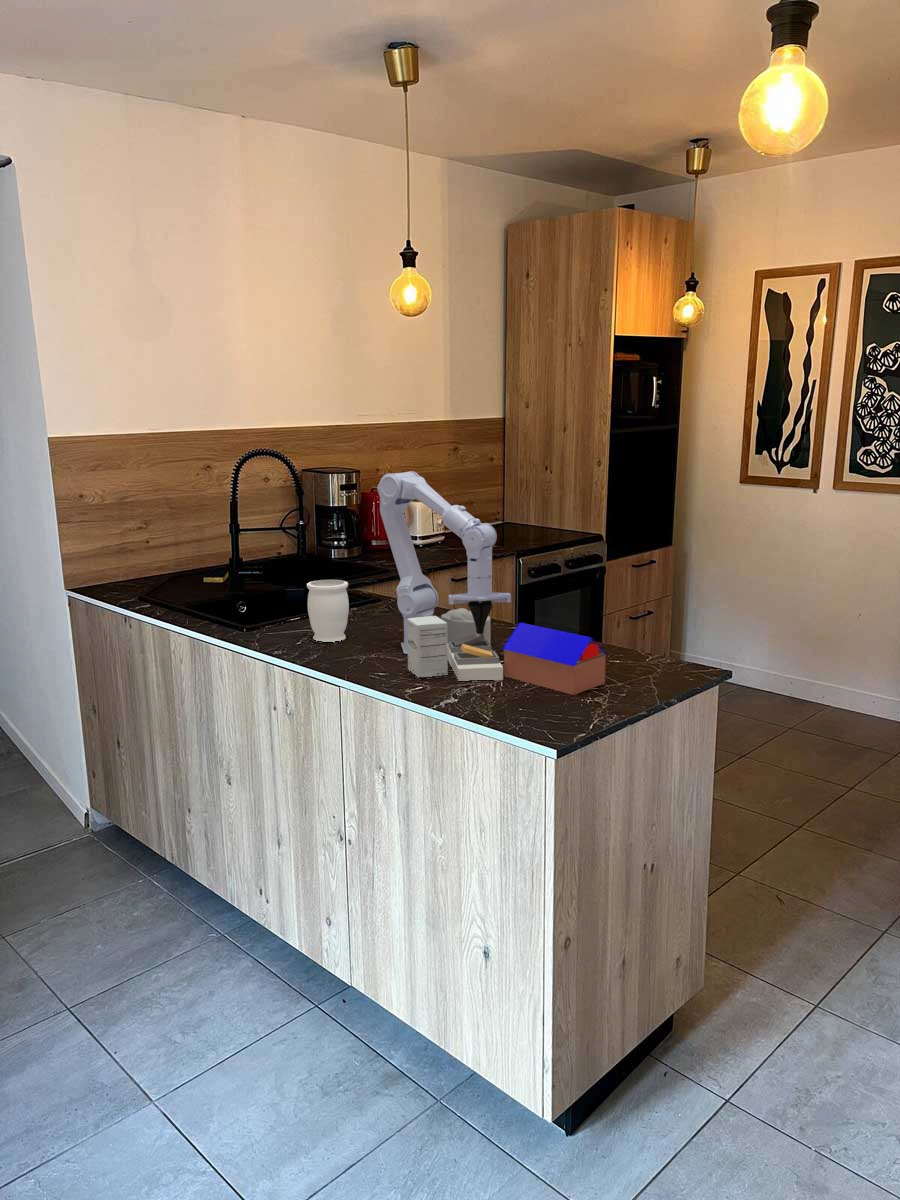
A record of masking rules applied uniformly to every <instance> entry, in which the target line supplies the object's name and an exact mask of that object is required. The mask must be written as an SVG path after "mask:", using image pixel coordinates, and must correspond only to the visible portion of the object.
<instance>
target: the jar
mask: <svg viewBox="0 0 900 1200" xmlns="http://www.w3.org/2000/svg"><path fill="white" fill-rule="evenodd" d="M348 587H349V582H348V581H345V580H342V579H320V580H313V581H309V582H308V583H306V588H307V589H308V590H309V591H308V594H307V613H308V618H309V623H310V627H311V630H312V631H313V633H314V635H313V637H312V639H314V640H316V641H315V642H317V641H322V642H333V643H336V642H335V641H339V642H341V640H342V641H344V640H346V638H347V637H346V634H345V633H344V632H345V631H346V628H347V625H348V617H349V611H350V605H349V604H350V603H349V595H348V590H347V589H348ZM314 640H313V641H314ZM322 642H321V643H322Z"/></svg>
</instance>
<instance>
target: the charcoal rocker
mask: <svg viewBox="0 0 900 1200" xmlns="http://www.w3.org/2000/svg"><path fill="white" fill-rule="evenodd" d="M482 640H485V638H484V636H483V634H474V635H471V636H468V637H465V638H463V639H460V640H457V641H454V645H455V647H461V645H462V644H465V645H471V644H474V643H476V642H479V641H482Z"/></svg>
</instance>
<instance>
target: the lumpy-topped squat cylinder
mask: <svg viewBox="0 0 900 1200" xmlns="http://www.w3.org/2000/svg"><path fill="white" fill-rule="evenodd" d="M440 619H442V620H443V621H445V622H447V643H448V641H457V640H460V639H463V638H465V637H468V636H471V635H474V634H477V632H476V626H475V622H474V618H473V616H472V613H471V611H470V610H468V609H467V608H463V607H462V608H461V607H460V608H457V609H451V610H448V611H447V612H445V613H443V614H441V616H440ZM491 622H492V621H491V617H490V616H489V615H488V617H487V620H486V623H485V626H484V631H483V636H484V638H485V640H488V642H489V643H490V644H491V635H492V633H491V632H492V631H491V625H492V624H491Z"/></svg>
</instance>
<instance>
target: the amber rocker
mask: <svg viewBox="0 0 900 1200" xmlns="http://www.w3.org/2000/svg"><path fill="white" fill-rule="evenodd" d="M461 649H462V651H463V652H465V653H469V654H472V655H476V656H480V657H483V658H486V657H493V654H492V652H491V651H487V650H483V649H480V648H476V647H472V646H469V645H465V644H462V645H461Z"/></svg>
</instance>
